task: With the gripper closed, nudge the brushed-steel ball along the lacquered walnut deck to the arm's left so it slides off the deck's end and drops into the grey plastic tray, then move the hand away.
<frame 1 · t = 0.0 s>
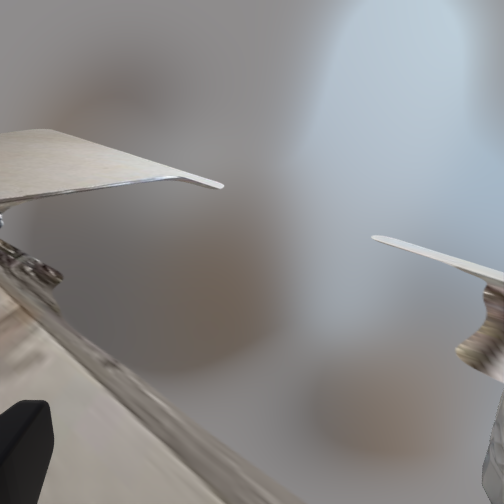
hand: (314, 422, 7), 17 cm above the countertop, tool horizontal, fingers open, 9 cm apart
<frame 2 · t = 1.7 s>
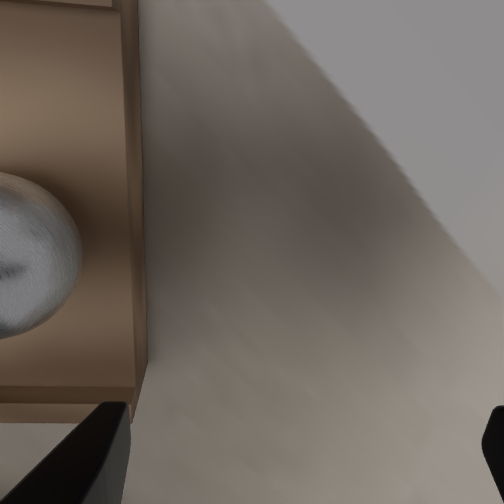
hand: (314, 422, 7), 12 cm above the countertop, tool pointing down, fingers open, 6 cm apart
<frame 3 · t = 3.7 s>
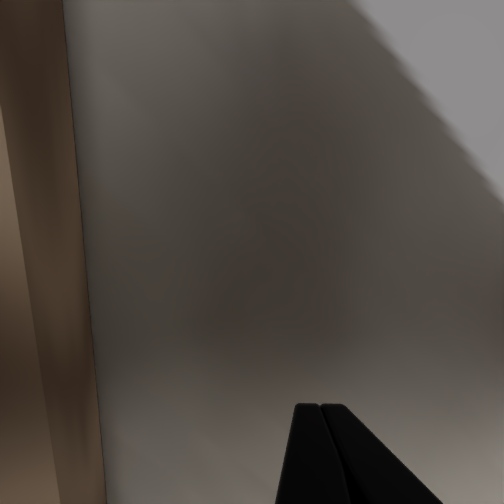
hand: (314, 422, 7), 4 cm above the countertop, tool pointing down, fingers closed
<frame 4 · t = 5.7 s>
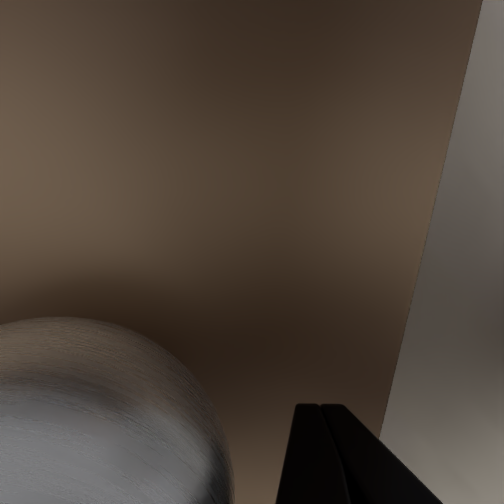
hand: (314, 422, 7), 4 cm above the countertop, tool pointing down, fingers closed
deck: (76, 301, 11), on the countertop
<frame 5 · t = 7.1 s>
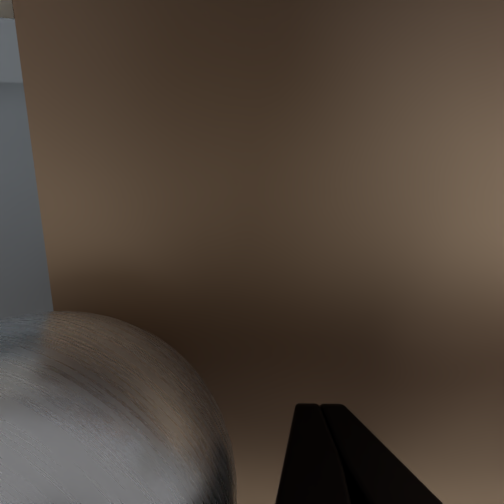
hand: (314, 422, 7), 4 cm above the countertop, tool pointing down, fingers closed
deck: (373, 308, 11), on the countertop
ball: (50, 499, 6), point 6 cm above the countertop, tilted 22°, touching gripper
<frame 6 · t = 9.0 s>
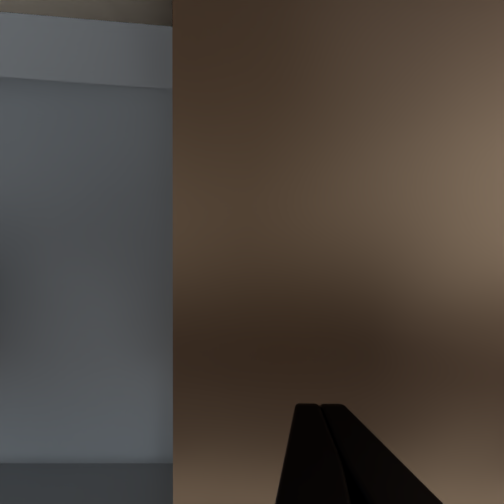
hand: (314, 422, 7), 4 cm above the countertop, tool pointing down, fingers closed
deck: (447, 310, 11), on the countertop
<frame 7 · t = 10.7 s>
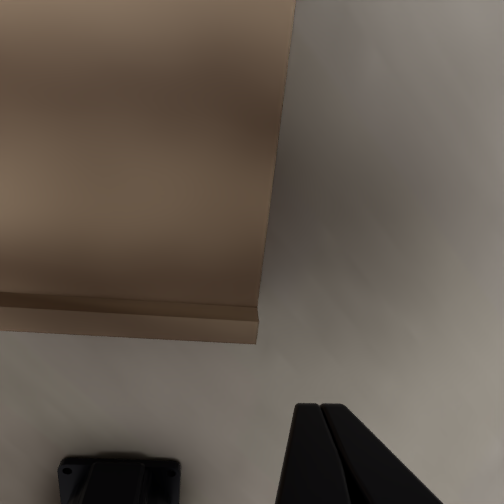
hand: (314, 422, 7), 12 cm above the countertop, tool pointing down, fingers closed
deck: (86, 92, 16), on the countertop
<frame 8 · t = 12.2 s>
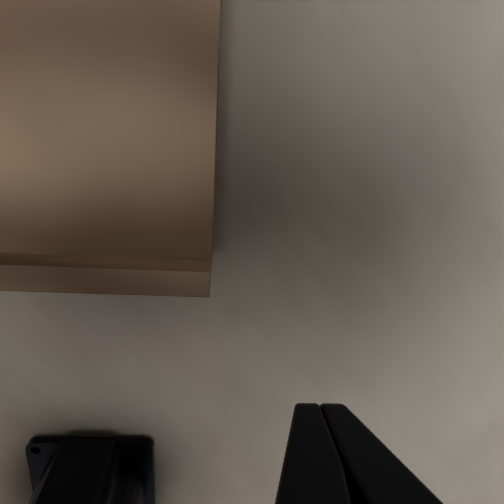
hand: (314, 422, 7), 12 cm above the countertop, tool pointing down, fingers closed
deck: (25, 42, 15), on the countertop
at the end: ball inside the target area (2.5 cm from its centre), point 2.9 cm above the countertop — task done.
